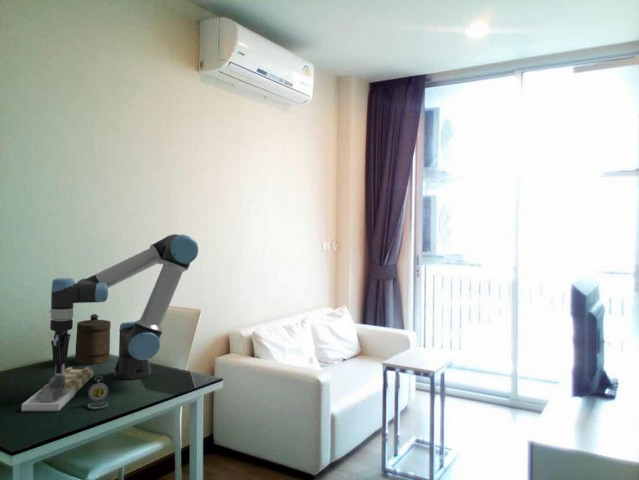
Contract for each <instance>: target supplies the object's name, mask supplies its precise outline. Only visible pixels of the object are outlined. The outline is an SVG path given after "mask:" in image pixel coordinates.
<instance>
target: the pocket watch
mask: <svg viewBox="0 0 639 480" xmlns="http://www.w3.org/2000/svg"><path fill="white" fill-rule="evenodd" d="M100 378H101V379H100ZM103 379H104V378H103V376H100V375H99V376H98V375H97V376H95V378H94V380H95V381H96V382H97V383H94V384H92V385H90V386H89V389H88V390H87V394H88V395H87V396H88V397H89V399H90V400H91V401H92V402H90V403H88V404H87V408H88V409H90V410H102V409H105V408H107V407H108V406H109V403H108V401H105V398H107V397H108V394H109V388H108V386H107V385H106V384H105V383H104V382H101V381H103ZM103 400H104V401H103ZM94 404H105V406H102V407H90V406H91V405H94Z"/></svg>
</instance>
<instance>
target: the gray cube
mask: <svg viewBox="0 0 639 480" xmlns="http://www.w3.org/2000/svg"><path fill="white" fill-rule="evenodd" d="M48 383H49V386H50V385H61V390H62V389H63V388H64V387H65V376H55V375H54V376H52V377H51V378H50V379H49V380H48Z"/></svg>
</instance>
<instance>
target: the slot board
mask: <svg viewBox="0 0 639 480" xmlns="http://www.w3.org/2000/svg"><path fill="white" fill-rule="evenodd" d="M93 375H94V369H93V368H91V367H90V366H86V367H85V368H81V369H79V368H78V369H77V368H75V369H74V368H73V366H67V368H66V369H65V368H64V376H65V387H64V388H63V389H75V394H76V393H77V392H78V391H79V390H80V389H82V388H83V386H84V385H86V383H88V382H89V380H91V379H92V378H93ZM48 386H49V382H48V383H46V384H45V385H44V386H43V387H42V389H46V388H47V387H48Z"/></svg>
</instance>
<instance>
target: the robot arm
mask: <svg viewBox="0 0 639 480" xmlns="http://www.w3.org/2000/svg"><path fill="white" fill-rule="evenodd" d="M196 241H197V240H196V239H194V238H193V237H191V236H189V235H185V234H175V233H174V234H170V235H167V236H166V237H164V238H161V239H160V240H158V241H156V242H155V243H153V244H150V246H149V248H148V249H145V250H143V251H141V252H139V253H136V254H135V255H133V256H130V257H129V258H126V259H125V260H124V259H123V260H122V261H120V262H118V263H116V264H114V265H112V266H110V267H108V268H105V269H103V270H101V271H99V272H97V273H95V274H94V275H91V276H88V277H87V278H82V279H79V280H77V282H75V279H74V278H71V277H67V278H65V277H61V278H60V277H58V278H55V279H53V280H52V283H51V290H50V291H51V298H50V301H51V302H50V310H49V313H50V323H49V324H50V326H49V329H50V331H54V335H53V340H51V342H50V344H51V350H52V365H55V371H54V372H55V373H54V376H64V370H65V368H66V367H65V366H66V365H65V364H68V354H69V353H68V352H69V344H70V338H71V334H70V333H69V331H70V330H72V329H73V326H74V325H73V321H74V320H73V318H74V304H83V303H85V304H87V303H90V304H91V303H97V304H98V303H104V302H107V300H108V297H109V288H111V287H113V286H116V285H117V284H119V283H121V282H123V281H125V280H128V279H129V278H131V277H133V276H135V275H137V274H139V273H141V272H143V271H145V270H147V269H149V268H151V267H154V266H156V265H158V264H159V265H162V267H161V270H160V272H159V274H158V277H157V279H156V282H155V284H154V287H153V289H152V291H151V293H150V296H149V298H148V300H147V303H146V305H145V308H144V311H143V313H142V315H141V318H140V319H138V320H136V321H127V322H122V323H120V325H119V338H118V339H119V341H118V344H119V345H118V346H119V347H118V359H117V361H116V363H115V367H114V369H113V377H114V378H117V379H121V380H137V379H141V378H146V377H148V376H150V375H151V372H152V368H151V363H150V362H149V360H150V359H152V358H154V357H155V356H156V355H157V354H158V352H159V351H160V348H161V341H160V338H161V336H162V333H163V331H164V330H163V328H162V323H163V321H164V319H165V316H166V314H167V312H168V309H169V306H170V304H171V303H172V299H173V296H174V294H175V293H176V290H177V287H178V284H179V282H180V279H181V277H182V276H183V275H182V274H183V273H185V272H186V271H188V270H189V267H190V264H191V263H192V262H194V261H195V260H196V258H197V257H198V254H199V247H198V246H199V245H198V243H197V242H196Z"/></svg>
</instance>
